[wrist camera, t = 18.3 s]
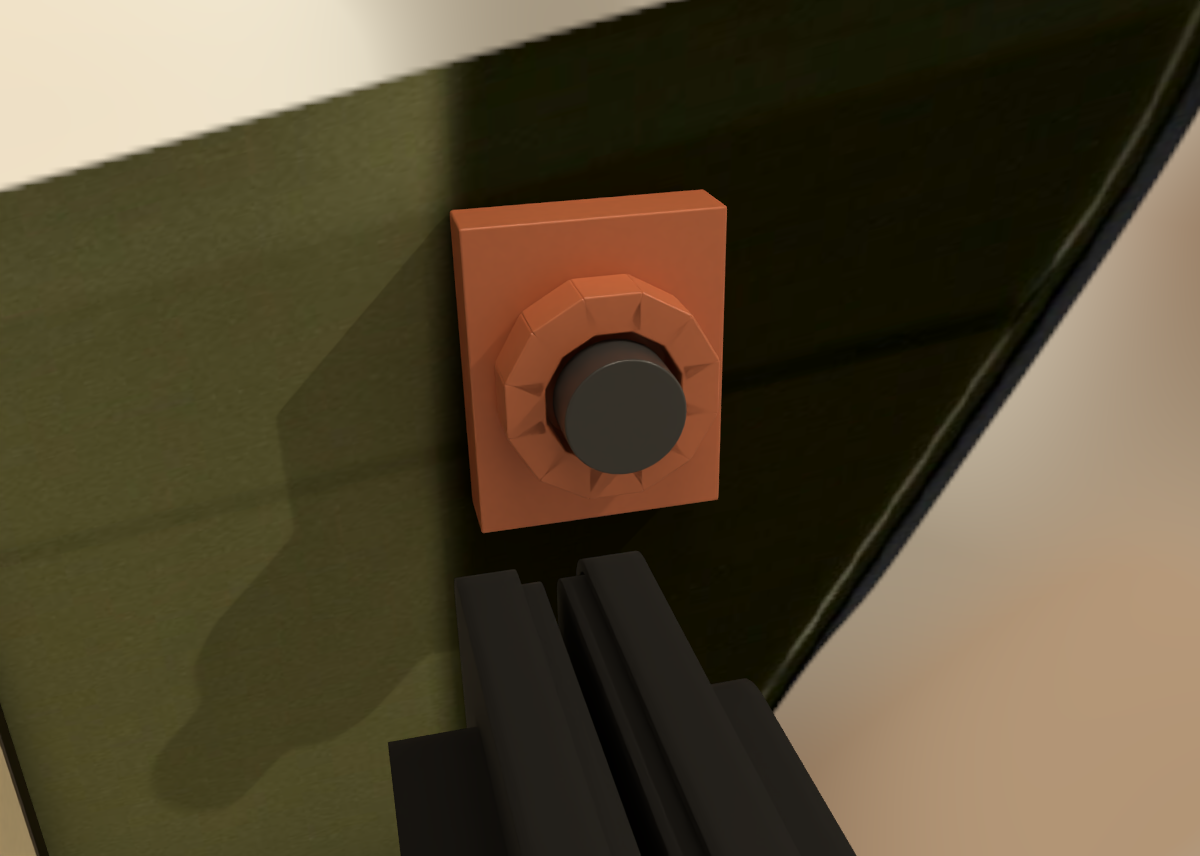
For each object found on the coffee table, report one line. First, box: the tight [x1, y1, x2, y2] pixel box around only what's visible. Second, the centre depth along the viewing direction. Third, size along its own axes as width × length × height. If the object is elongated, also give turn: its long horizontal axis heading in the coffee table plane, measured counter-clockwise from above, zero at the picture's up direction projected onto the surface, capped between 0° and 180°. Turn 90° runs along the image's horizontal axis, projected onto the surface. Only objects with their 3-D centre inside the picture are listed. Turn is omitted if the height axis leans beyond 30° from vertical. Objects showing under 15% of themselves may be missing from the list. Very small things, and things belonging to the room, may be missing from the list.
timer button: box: [553, 339, 687, 474], centre depth 33 cm, size 4×4×2 cm
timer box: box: [450, 190, 727, 533], centre depth 35 cm, size 10×8×4 cm
